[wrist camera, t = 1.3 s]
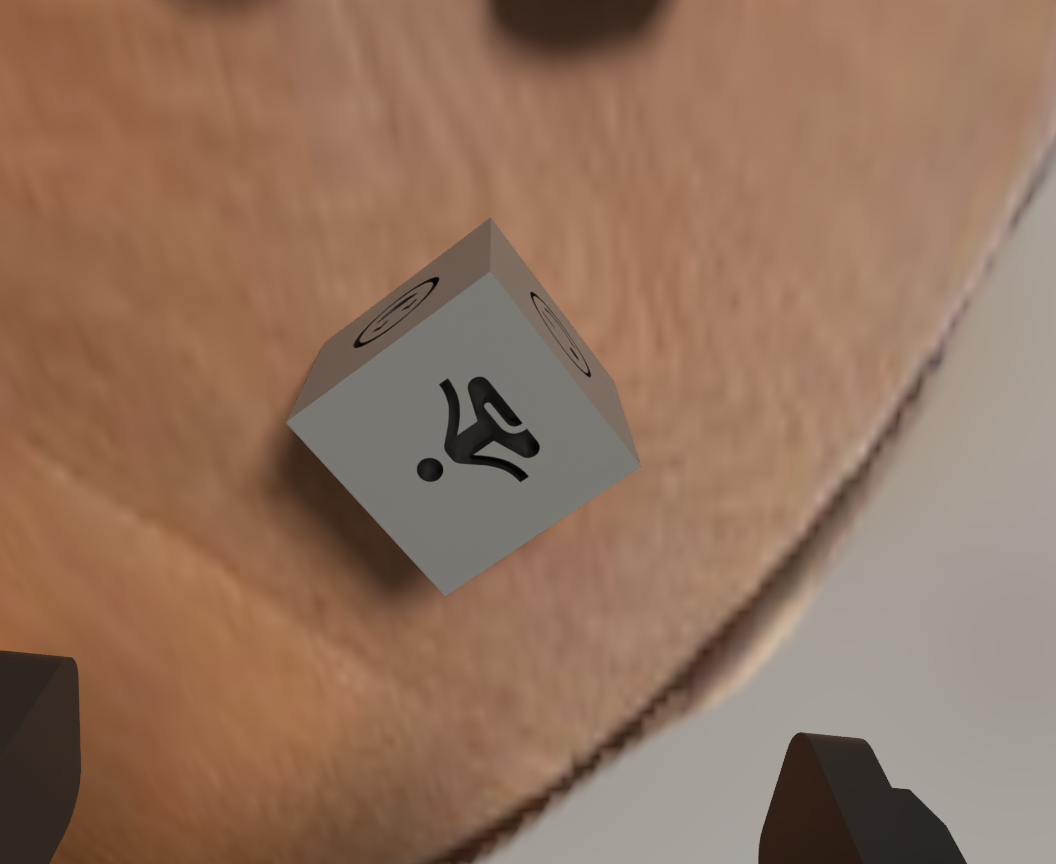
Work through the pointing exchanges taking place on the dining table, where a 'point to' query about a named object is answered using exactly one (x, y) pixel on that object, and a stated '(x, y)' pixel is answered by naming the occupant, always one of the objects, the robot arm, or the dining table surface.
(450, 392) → the dice cube
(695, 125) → the dining table surface
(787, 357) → the dining table surface
